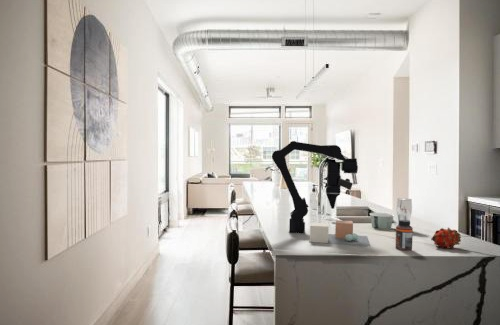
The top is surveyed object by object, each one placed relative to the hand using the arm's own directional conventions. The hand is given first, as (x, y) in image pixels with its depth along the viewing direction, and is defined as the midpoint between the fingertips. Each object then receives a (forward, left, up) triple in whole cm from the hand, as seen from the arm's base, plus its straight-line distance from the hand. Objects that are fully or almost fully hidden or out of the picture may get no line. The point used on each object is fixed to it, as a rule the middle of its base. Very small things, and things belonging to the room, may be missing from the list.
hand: (332, 207), depth 187 cm
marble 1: (+7, -17, -12) cm, 22 cm away
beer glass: (+34, +22, -12) cm, 42 cm away
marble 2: (+9, -15, -12) cm, 21 cm away
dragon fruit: (+44, -16, -12) cm, 48 cm away
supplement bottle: (+27, -25, -12) cm, 39 cm away
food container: (+24, +26, -12) cm, 37 cm away
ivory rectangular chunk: (-5, -19, -12) cm, 23 cm away
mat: (+3, -14, -12) cm, 18 cm away
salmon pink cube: (+5, -8, -12) cm, 15 cm away
